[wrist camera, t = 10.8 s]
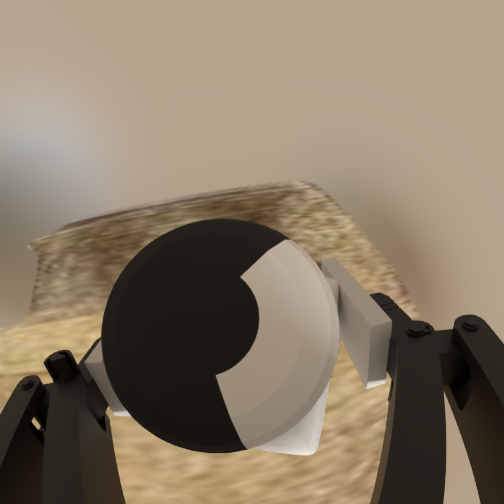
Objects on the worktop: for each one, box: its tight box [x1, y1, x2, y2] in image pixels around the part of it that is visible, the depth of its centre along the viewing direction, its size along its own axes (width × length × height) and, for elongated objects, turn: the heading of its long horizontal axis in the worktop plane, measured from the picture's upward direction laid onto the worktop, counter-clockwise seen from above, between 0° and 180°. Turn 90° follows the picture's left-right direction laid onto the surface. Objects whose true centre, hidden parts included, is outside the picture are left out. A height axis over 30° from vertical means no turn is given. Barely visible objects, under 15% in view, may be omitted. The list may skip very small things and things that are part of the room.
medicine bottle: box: [101, 219, 339, 455], centre depth 11 cm, size 7×7×12 cm
